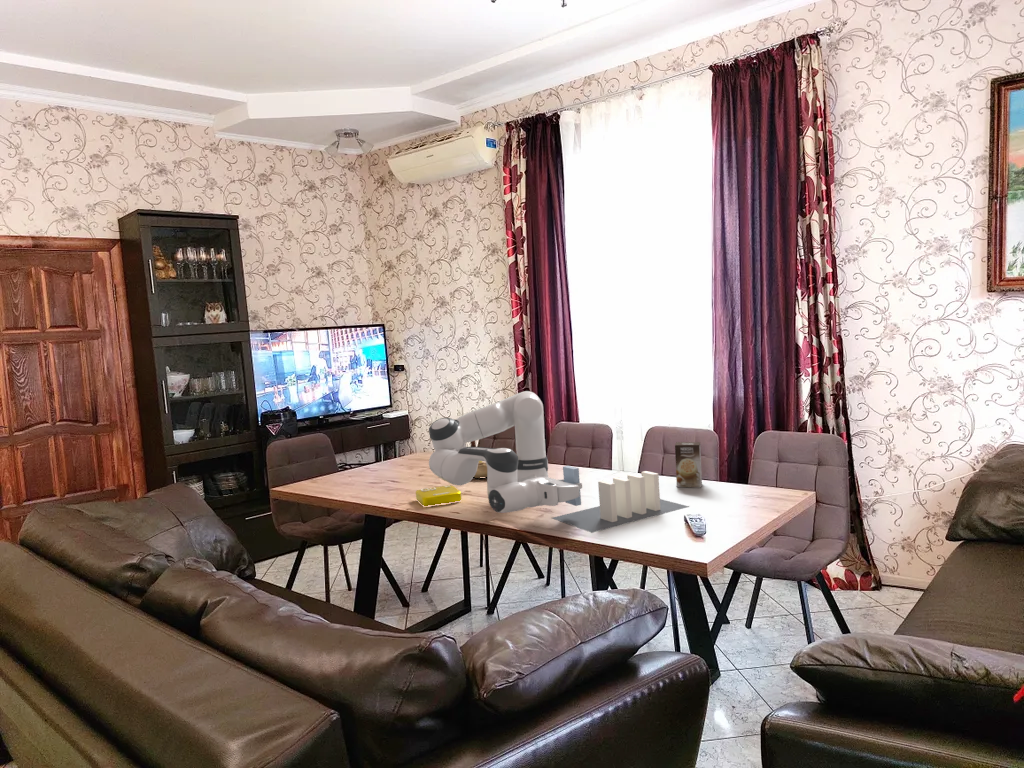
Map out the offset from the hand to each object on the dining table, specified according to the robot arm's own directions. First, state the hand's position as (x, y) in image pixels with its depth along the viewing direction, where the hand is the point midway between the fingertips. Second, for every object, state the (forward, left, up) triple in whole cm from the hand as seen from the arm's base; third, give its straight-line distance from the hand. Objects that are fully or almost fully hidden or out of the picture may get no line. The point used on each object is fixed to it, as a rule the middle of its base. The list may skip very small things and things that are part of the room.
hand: (574, 483), depth 227 cm
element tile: (-48, +39, -13) cm, 64 cm away
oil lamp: (-32, +74, -12) cm, 82 cm away
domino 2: (+15, -4, -11) cm, 19 cm away
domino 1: (+10, -7, -11) cm, 16 cm away
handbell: (-36, +94, -12) cm, 102 cm away
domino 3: (+20, -1, -11) cm, 23 cm away
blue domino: (-1, 0, -7) cm, 7 cm away
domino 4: (+25, +2, -11) cm, 28 cm away
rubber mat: (+15, +1, -12) cm, 19 cm away
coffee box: (+46, +32, -12) cm, 58 cm away
